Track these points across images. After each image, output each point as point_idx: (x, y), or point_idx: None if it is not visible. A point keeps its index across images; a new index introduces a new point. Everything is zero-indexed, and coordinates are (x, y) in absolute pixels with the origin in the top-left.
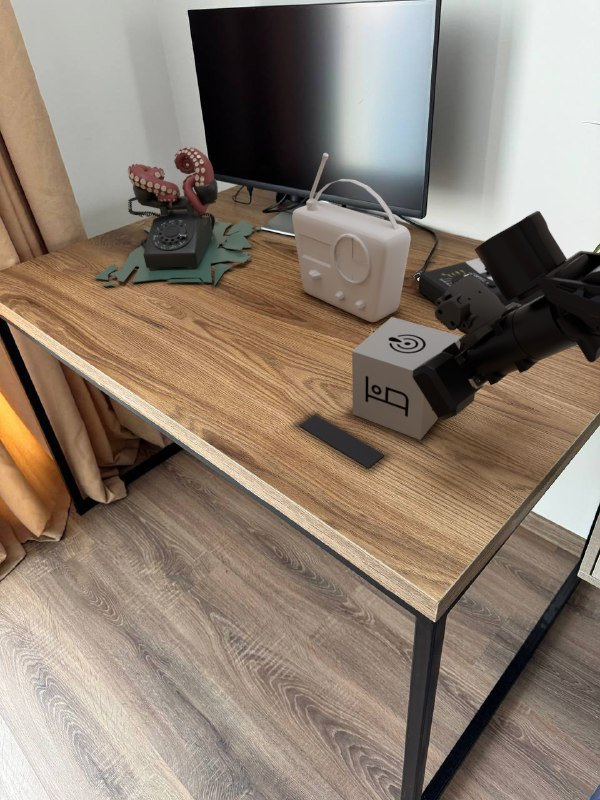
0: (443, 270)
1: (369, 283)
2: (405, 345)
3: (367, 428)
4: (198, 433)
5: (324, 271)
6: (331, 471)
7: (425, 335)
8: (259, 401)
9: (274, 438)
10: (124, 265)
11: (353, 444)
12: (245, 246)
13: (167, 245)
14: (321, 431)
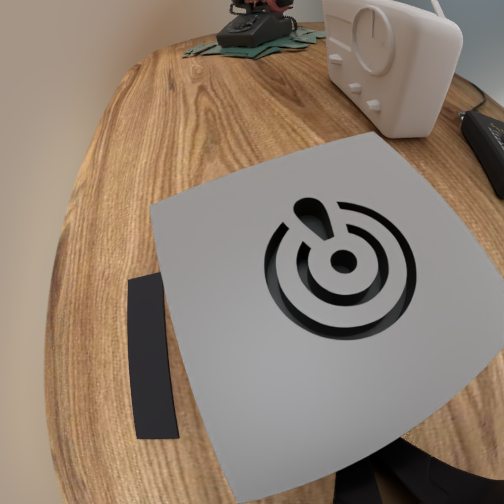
0: (492, 121)
1: (390, 78)
2: (328, 268)
3: None
4: (62, 227)
5: (345, 55)
6: (96, 397)
7: (434, 251)
8: (136, 206)
9: (93, 283)
10: (208, 44)
11: (153, 379)
12: (311, 41)
13: (235, 29)
14: (138, 314)
